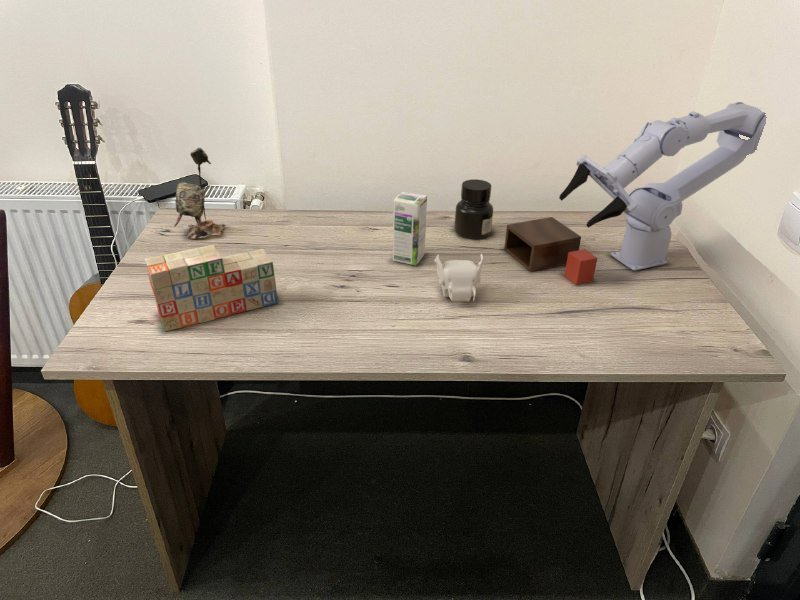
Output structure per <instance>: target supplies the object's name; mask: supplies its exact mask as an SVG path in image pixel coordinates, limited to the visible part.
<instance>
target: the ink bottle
mask: <svg viewBox="0 0 800 600" xmlns="http://www.w3.org/2000/svg"><path fill="white" fill-rule="evenodd" d="M460 190H461V192H460V199H461V200H459V201H458V202H457V204H456V205H455V213H454V214H455V215H454V225H453V226H454V228H453V229H454V232H455V233H456V235H458V236H460V237H461V238H466V239H474V240H475V239H476V240H477V239H485V238H486V237H488V236H490V235H491V232H492V227H493V217H494V207H493V204H492V203H491V202H490V201H491V195H492V184H491V182H489V181H486V180H483V179H477V178H475V179H466V180H464V181H462V183H461V189H460Z"/></svg>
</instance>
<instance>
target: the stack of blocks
mask: <svg viewBox="0 0 800 600" xmlns="http://www.w3.org/2000/svg"><path fill="white" fill-rule="evenodd" d="M144 260H145V265H146V268H147V276H148V279H149V284H150V288H151V290H152V293H153V297H154V301H155V305H156V310H157V313H158V316H159V319H160V322H161V325H162V328H163V331H164V332H169V331H173V330H178V329H181V328H186V327H191V326H194V325H197V324H202V323H206V322H209V321H210V322H211V321H214V320H217V319H220V318H224V317H228V316H231V315H235V314H239V313H243V312H247V311H252V310H256V309H260V308H264V307H269V306H272V305H275V304H278V302H279V301H278V293H277V281H276V276H275V269H274V262H273V260H272V259H271V257H270V256H269V255H268V254H267V252H266V250H265V249H264V248H260V249H256V250H255V249H254V250H249V251H244V252H240V253H235V254H231V255H226V256H222V255H221V253H220V252H219V251H218V250H217V247H216V246H215V245H214V244H209V245H204V246H199V247H195V248H189V249H184V250H182V251H177V252H172V253H166V254H161V255H156V256H151V257H147V258H144Z"/></svg>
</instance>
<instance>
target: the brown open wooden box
mask: <svg viewBox="0 0 800 600" xmlns="http://www.w3.org/2000/svg"><path fill="white" fill-rule="evenodd" d="M504 239H505V240H504V246H503V250H504V251H505V252H506V253H507V254H509V255H510V256H511V257H512V258H513V259H514V260H516V261H517V262H518V263H519V264H520V265H522V266H523V267H524V268H525V269H526V270H528V271H529V272H536V271H542V270H545V269H550V268H556V267H561V266H566V263H567V258H568V253H569V252H573V251H578V250H580V246H581V241H582V236H581V235H580V234H578V233H577V232H575V231H573V230H572V229H571V228H569V227H568V226H566V225H565V224H564V223H562V222H560V221H559V220H557V219H556V218H554V217H553V216H548V217H543V218H538V219H532V220H527V221H526V220H525V221H520V222H515V223H510V224H507V225H506V231H505V238H504Z"/></svg>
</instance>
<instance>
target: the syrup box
mask: <svg viewBox="0 0 800 600" xmlns="http://www.w3.org/2000/svg"><path fill="white" fill-rule="evenodd" d="M392 207H393V209H392V212H393V213H392V220H393V221H392V262H398V263H401V264H406V265H412V266H417V265H418V264H419V263H420V261H421V260H422V258H423V257H424V256H425V253H426V251H425V250H426V229H427V211H428V209H427V207H428V195H425V194H417V193H412V192H407V191H401V192H400V193H399V194H398V195H397V196H396V197H395V198H394V199H393V206H392Z"/></svg>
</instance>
